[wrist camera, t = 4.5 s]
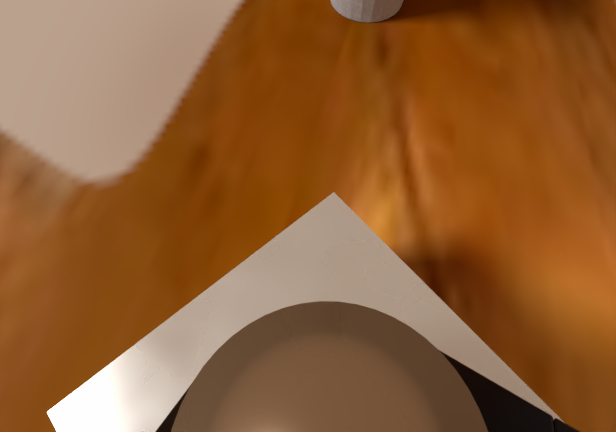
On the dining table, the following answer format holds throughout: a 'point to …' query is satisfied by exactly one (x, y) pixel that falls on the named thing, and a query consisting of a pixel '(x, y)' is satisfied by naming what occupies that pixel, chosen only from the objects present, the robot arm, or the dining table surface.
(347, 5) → the house plant
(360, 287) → the cover
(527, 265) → the dining table surface
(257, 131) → the dining table surface
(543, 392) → the dining table surface
